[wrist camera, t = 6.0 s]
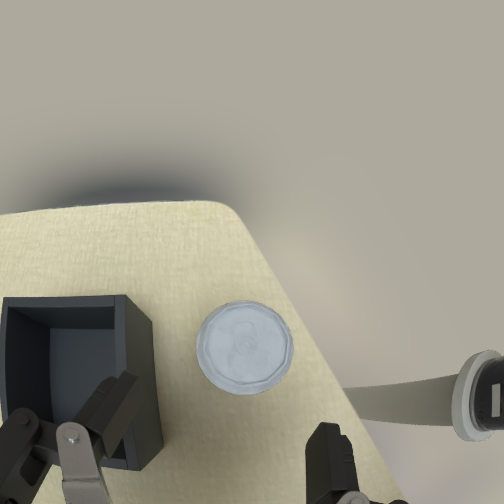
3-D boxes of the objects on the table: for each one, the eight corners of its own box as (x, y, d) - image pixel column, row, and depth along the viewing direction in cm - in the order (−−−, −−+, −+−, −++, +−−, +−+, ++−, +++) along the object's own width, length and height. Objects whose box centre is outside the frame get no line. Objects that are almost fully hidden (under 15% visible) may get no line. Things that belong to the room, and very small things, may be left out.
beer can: (210, 393, 21) (201, 402, 11) (203, 340, 23) (188, 300, 13) (266, 385, 22) (307, 384, 11) (257, 333, 24) (287, 288, 14)
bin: (152, 321, 24) (125, 294, 17) (164, 447, 18) (140, 471, 12) (48, 322, 22) (3, 296, 15) (53, 434, 17) (5, 440, 10)
